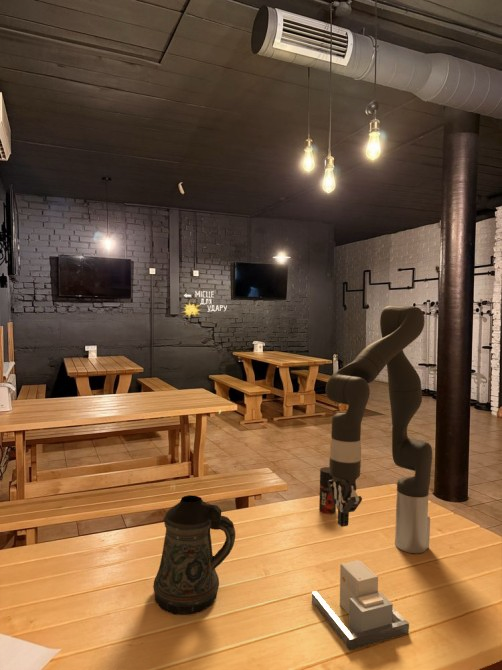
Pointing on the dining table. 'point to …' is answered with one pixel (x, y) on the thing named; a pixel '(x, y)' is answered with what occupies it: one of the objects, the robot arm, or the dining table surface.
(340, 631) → the rail
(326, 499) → the deodorant
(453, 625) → the dining table surface
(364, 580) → the small box
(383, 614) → the block
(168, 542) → the beer stein
